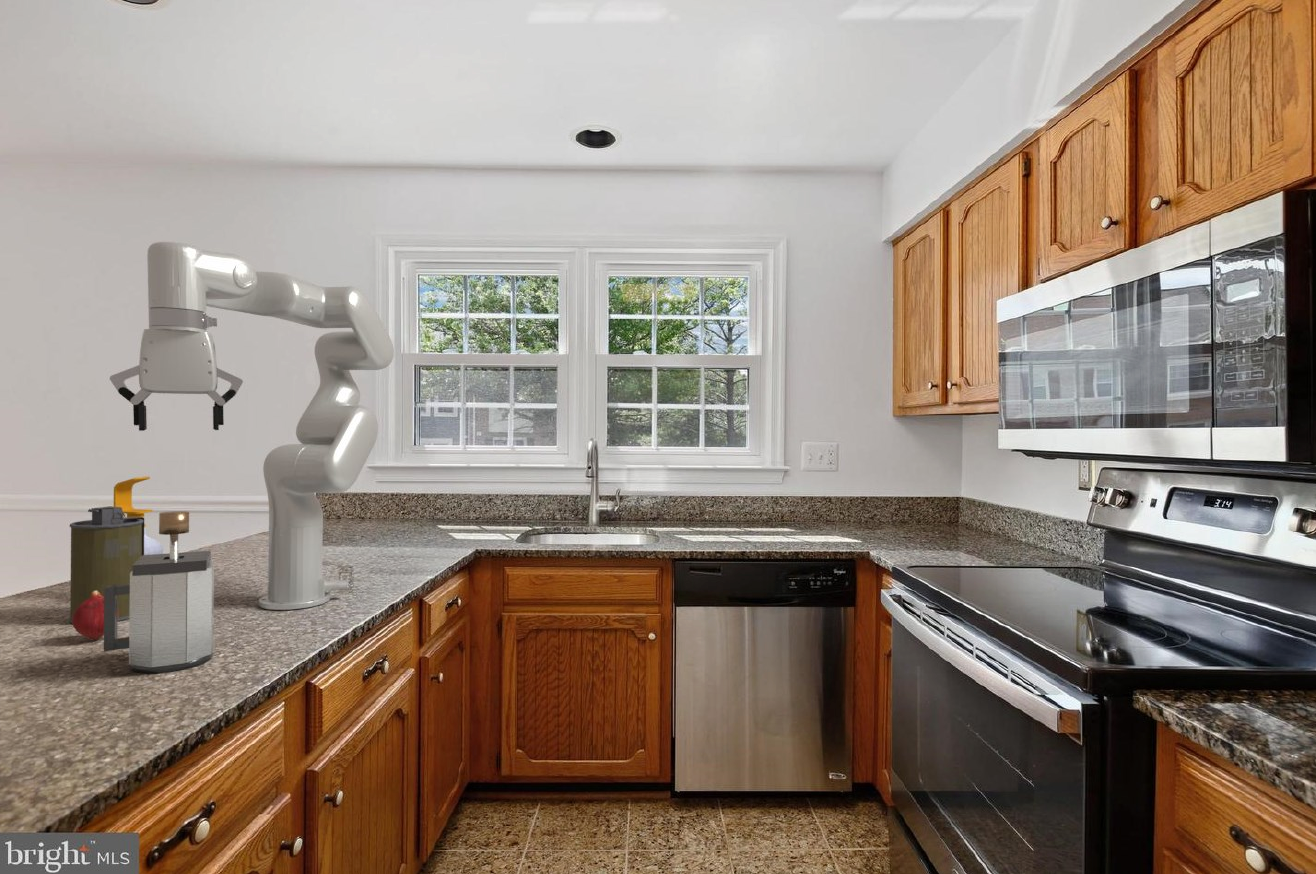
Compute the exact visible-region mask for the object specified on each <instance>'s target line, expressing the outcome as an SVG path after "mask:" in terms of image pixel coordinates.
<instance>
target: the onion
mask: <svg viewBox="0 0 1316 874" xmlns="http://www.w3.org/2000/svg"><path fill="white" fill-rule="evenodd" d="M118 618H119V611H118V614H117V622H119V621H118ZM72 623H73V624H72ZM72 623H71V624H72V626H73V628H74V629H75V631H76V632H77V633H78V634H80V635H81V636H83V637H85V638H88V639H89V640H91V641H98V640H99V639H101V638H102V637H104V597H103V596H102V595H101V594H100V593H99V592H98V591H93V592H92V595H91V597H90V598H89V599H87V600H86V601H84V602H83V603H81V604H80V605H79V606H78V607H77V609H76V610H75V612H74V614H73V616H72Z"/></svg>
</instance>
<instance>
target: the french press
mask: <svg viewBox="0 0 1316 874" xmlns="http://www.w3.org/2000/svg"><path fill="white" fill-rule="evenodd" d="M211 558H212V551H211V550H205V551H204V550H201V551H188V552H187V551H185V552H178V559H170V552H169V553H163V554H153V555H142V556H141V557H140V558H139V559H138V560H137V561H136V562H135V563H134V564H133V567H132V572H131V573H130V584H120V585H118V584H116V585H107V586H106V587H105V588H104V635H103V652H104V653H105V652H112V651H118V650H125V649H128V652H129V654H128V664H129V665H130V669H131V671H132V672H134V673H139V674H144V675H145V674H147V675H149V674H150V675H151V674H152V675H153V674H165V673H172V672H179V671H182V670H188V669H191V668H194V667H198V666H200V665H203V664H205V663H207V662H209V661H210V660H211V659H212V658H213V652H214V651H213V650H214V632H215V631H214V627H215V626H214V624H215V622H214V621H215V620H214V616H215V615H214V613H215V562H212V560H211ZM125 594H130V619H129V629H128V630H129V635H128V637H127V636H126V637H120V638H119V637H118V621H117V614H118V595H125Z"/></svg>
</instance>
